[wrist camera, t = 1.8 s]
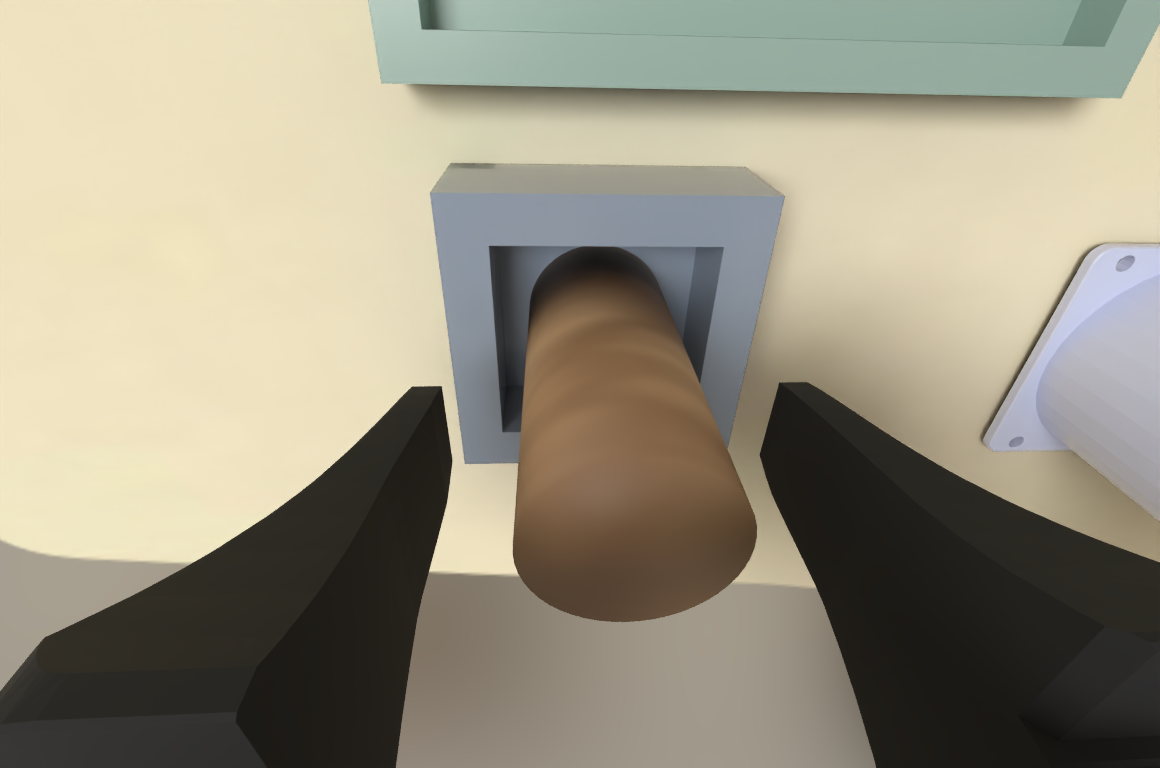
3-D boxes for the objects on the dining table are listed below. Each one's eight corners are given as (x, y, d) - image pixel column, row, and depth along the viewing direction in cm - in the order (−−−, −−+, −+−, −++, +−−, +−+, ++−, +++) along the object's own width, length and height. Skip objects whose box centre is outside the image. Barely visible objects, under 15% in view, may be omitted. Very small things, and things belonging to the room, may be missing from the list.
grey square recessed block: (745, 166, 15) (784, 196, 12) (702, 403, 19) (724, 459, 17) (450, 163, 14) (430, 192, 12) (476, 405, 19) (465, 463, 16)
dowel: (669, 244, 15) (782, 456, 8) (655, 364, 18) (733, 618, 10) (527, 244, 15) (506, 461, 8) (531, 365, 17) (518, 624, 10)
